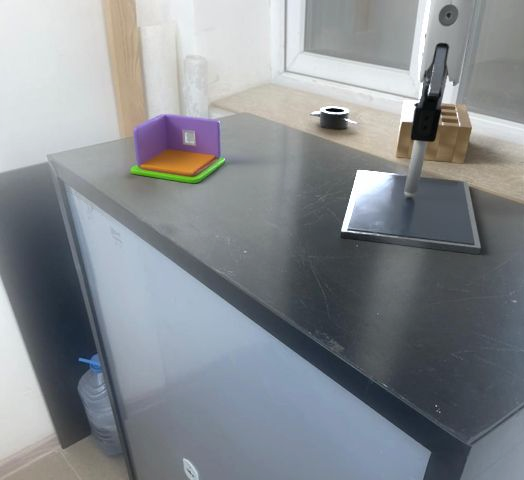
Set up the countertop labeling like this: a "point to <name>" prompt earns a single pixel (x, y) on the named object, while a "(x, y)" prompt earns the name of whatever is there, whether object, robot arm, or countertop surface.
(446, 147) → the pen stand
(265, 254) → the countertop surface
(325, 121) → the black ring with handles
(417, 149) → the stylus
